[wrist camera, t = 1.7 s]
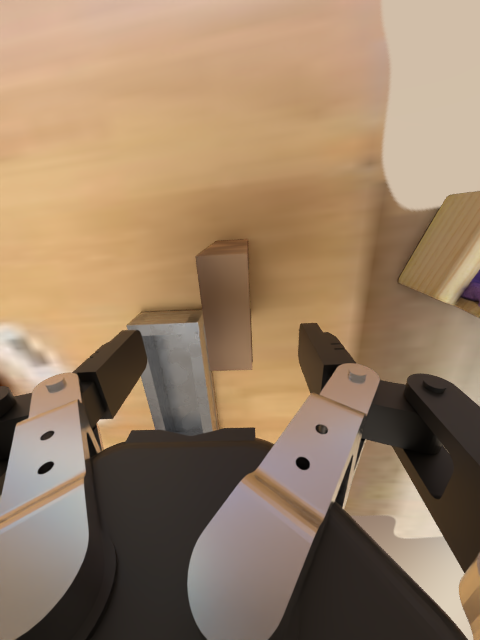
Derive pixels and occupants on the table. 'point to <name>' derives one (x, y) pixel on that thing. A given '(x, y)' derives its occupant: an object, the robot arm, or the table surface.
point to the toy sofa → (450, 255)
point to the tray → (177, 371)
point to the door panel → (226, 304)
